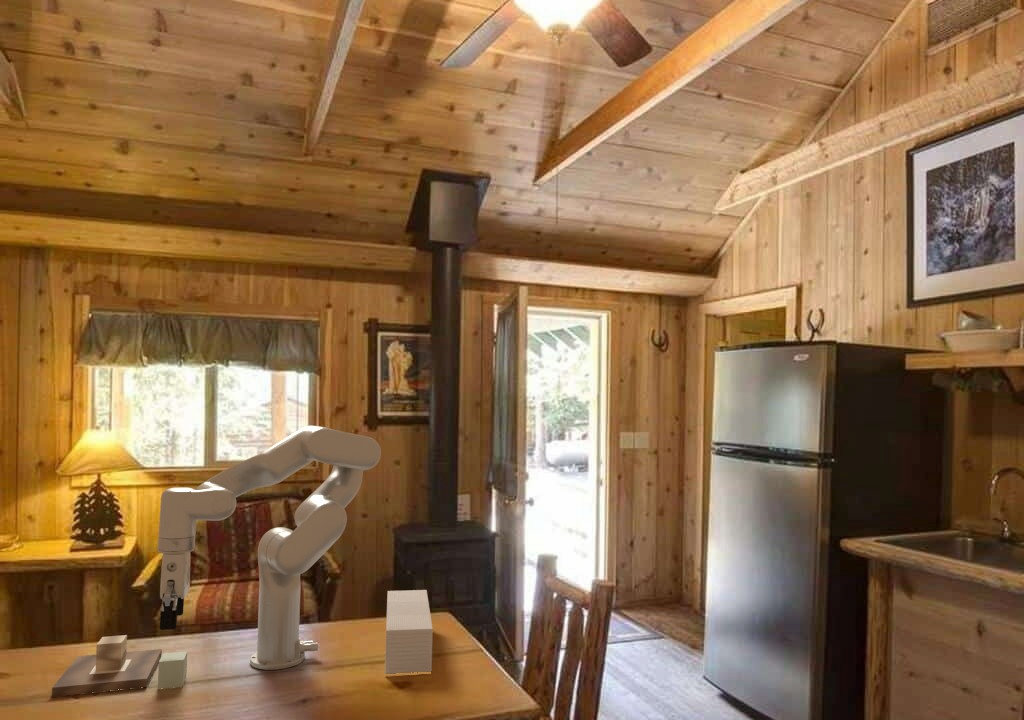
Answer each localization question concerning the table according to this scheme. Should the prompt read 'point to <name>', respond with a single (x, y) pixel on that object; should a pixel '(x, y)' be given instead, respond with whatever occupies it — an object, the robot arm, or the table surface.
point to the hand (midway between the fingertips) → (171, 622)
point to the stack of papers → (408, 632)
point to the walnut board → (107, 674)
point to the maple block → (111, 653)
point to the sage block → (172, 670)
